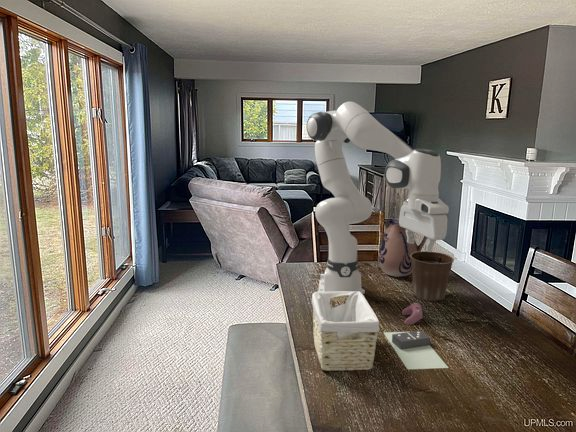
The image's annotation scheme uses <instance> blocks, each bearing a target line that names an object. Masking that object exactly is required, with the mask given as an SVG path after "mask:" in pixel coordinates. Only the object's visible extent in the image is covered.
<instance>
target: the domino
mask: <svg viewBox="0 0 576 432" xmlns="http://www.w3.org/2000/svg"><path fill="white" fill-rule="evenodd" d="M405 332H406V333H399V334H392V342H393V343H394V344H395V345H396V346H397V347H398V348H399V349H400V350H402V349H409V348H415V347H422V346H428V345H430V346H431V337H430V336H429V335H428V334H426V333H425V332H424V331H423V330H414V331H405Z"/></svg>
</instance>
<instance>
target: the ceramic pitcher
mask: <svg viewBox="0 0 576 432" xmlns="http://www.w3.org/2000/svg"><path fill="white" fill-rule="evenodd" d="M414 235H415V234H413V237H414V238H415V236H414ZM426 242H427V237H425V236H423V238H422V240H421V242H420V243H419V244H417V242H416V240H415V243H414V244H410V243H408V242H407V235H406V228H403V227H401V226H400V225H399V218H398V217H394V218H392V219H385V220H384V231H383V236H382V239H381V243H380V246H379V250H378V254H377V262H378V265H379V267H380V269H381V270H382V272H383V273H385V274H386V275H387V276H390V277H394V278H395V277H396V278H401V277H408V276H409V275H411V274H412V265H411V257H410V255H411V254H412V253H414V252H420V251H422V250H423V247H425V245H426Z"/></svg>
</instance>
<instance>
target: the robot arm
mask: <svg viewBox="0 0 576 432" xmlns="http://www.w3.org/2000/svg"><path fill="white" fill-rule="evenodd" d="M306 132H307V134H308V136H309V138H310V139H311V140H313V141H316V142H315V143H314V155H315V161H316V167H317V170H318V175H319V176H320V177H319V178H320V181H321V184H322V186H323V188H325V189H326V190H327V191H329V192H330V193H331V194H332V195H333V196H334V197H330V198H326V199H324V200H322V201H320V202H319V203H318V204H317V205H316V208H315V211H314V214H315V215H314V216H315V219H316V221H317V222H318V223H319V225H320V226H321V227H323V229H324V230H325V232H326V235H327V239H328V258H327V261H326V268H325V270H324V273H320V277H319V278H320V279H319V282H318V290H317V292H335V291H353V292H355V291H359V292H361V293H362V294H363V295H364V294H365V289H364V288H362V273H361V272H360V271H359V270H358V269H359V268H358V267H359V259H358V240H357V238H356V237H355V236H354V235H352V233H351V232H350V225H353V224H359V223H361V222H364V221H366V220H368V219H369V218H370V217H371V215H372V213H373V204H372V202H371V201H370V199H369V198H368V197H367V196H365V195H364V194H362V192H360V191H359V189H358V188H357V186H356V185H355V184H354V181H353V180H352V177H351V176H350V172H349V169H348V166H347V162H346V159H345V155H344V152H343V149H342V148H343V144H344V143H345V144H349V143H350V142H351V143H352V144H353V145H354V146H357V148H358V147H359V148H360V149H361V150H362V149H363V150H369V151H374V152H375V151H377V152H381V153H385V154H387V155H389V156H391V157H393V159H391V160H390V161H389V162H387V165H386V166H385V167H384V168H385V169H384V179H385V182H386V184H387V186H389V187H390V188H392V189H396V190H403V189H404V190H407V189H408V191H407V192H408V194H407V197H408V198H406V199H405V200H404V201H403V202H402V206H401V207H400V211H399V225H400V226H401V227H403V228H406V235H407V242H408V243H410V244H414V243H415V241H416V238H415V236H414V237H413V235H414V233H416V234H419V235H421V236H423V237H424V236H425V237H427V240H426V242H427V244H424V251H427V252H433V248H434V245H435V244H436V242H437V241H442V240H443V241H444V240H445V238H446V237H447V231H448V216H447V214H448V213H449V212H450V208H449V205H447V204H446V203H445V202H444V201H443V200H442V199H440V195H439V194H440V191H439V184H440V182H441V175H442V174H441V173H442V162H441V161H442V160H441V156H440V153H439V152H437V151H435V150H433V149H427V148H422V147H421V148H415V149H414V148H412V146H410V145H409V144H408V143H407V142H405V141H404V140H403V139H402V138H401V137H399V136H398V135H396V134H395V133H393V132H392V131H390V129H388V128H387V127H385V126H384V125H383V124H381V123H380V121H378V120H377V119H376V118H375V117H374V116H373V114H370V112H369V111H367V109H365V108H364V107H363V106H361V105H360V104H359V103H357V102H355V101H346V102H344V103H342V104H341V105H339V107H338V108H337V110H330V111H328V110H327V111H318V112H315V113H312V114H311V115H309V117H308V119H307V121H306Z"/></svg>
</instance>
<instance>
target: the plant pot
mask: <svg viewBox="0 0 576 432" xmlns="http://www.w3.org/2000/svg"><path fill="white" fill-rule="evenodd" d="M410 257H411V265H412V273H411V274H412V295H413V296H414V297H416V298H417V299H419V300H422V301H426V302H437V301H440V302H441V301H443V300H444V299H445V298H446V292H447V288H448V287H447V286H448V282H449V277H450V273H451V272H450V271H452V266H453V263H454V262H455V259H454V257H453V256H451V255H449V254H445V253H443V252H439V251H432V252H427V251H425V250H424V251H422V250H421V251H420V252H414V253H412V254H411V255H410Z"/></svg>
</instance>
